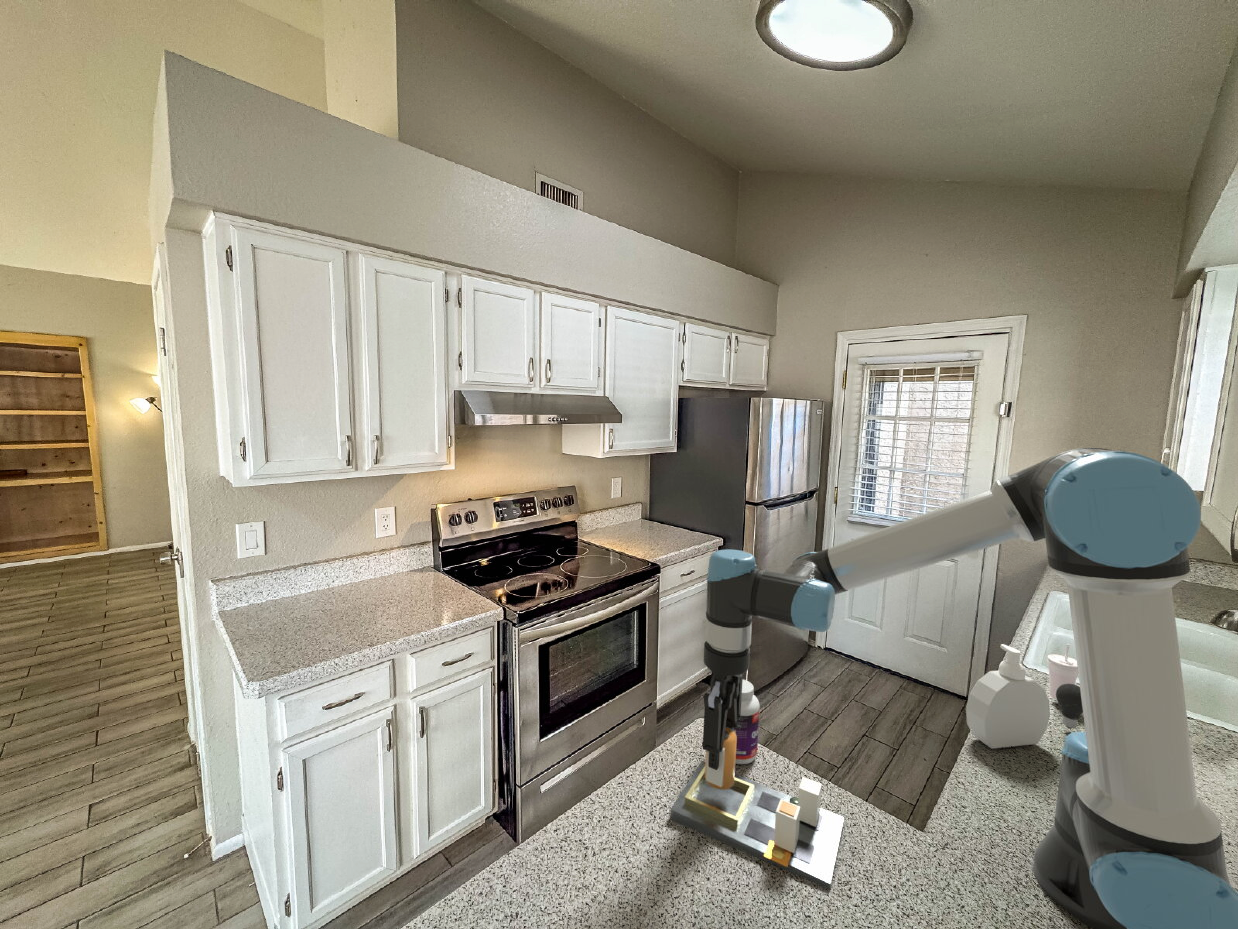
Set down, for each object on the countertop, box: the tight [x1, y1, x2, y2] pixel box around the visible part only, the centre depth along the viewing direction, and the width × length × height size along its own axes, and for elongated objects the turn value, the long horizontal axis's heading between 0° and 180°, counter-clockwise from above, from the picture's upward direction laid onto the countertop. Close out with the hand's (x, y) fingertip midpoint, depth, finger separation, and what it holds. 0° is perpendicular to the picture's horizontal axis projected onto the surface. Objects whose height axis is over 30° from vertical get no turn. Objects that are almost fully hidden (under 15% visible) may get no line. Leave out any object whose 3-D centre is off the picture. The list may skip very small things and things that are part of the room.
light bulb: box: [1056, 684, 1083, 730], centre depth 113 cm, size 6×6×10 cm
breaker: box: [797, 776, 823, 827], centre depth 83 cm, size 3×3×6 cm
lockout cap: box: [704, 727, 737, 789], centre depth 87 cm, size 5×5×8 cm
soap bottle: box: [965, 643, 1051, 750], centre depth 108 cm, size 16×5×20 cm, turn 100°
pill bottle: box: [734, 679, 761, 765], centre depth 101 cm, size 8×8×14 cm
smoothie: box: [1046, 643, 1079, 701], centre depth 125 cm, size 6×6×14 cm
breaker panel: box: [669, 760, 845, 890], centre depth 84 cm, size 25×15×3 cm, turn 59°
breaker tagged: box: [774, 799, 800, 853], centre depth 78 cm, size 3×3×6 cm
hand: (720, 772), depth 87 cm, fingers closed on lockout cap, 5 cm apart
